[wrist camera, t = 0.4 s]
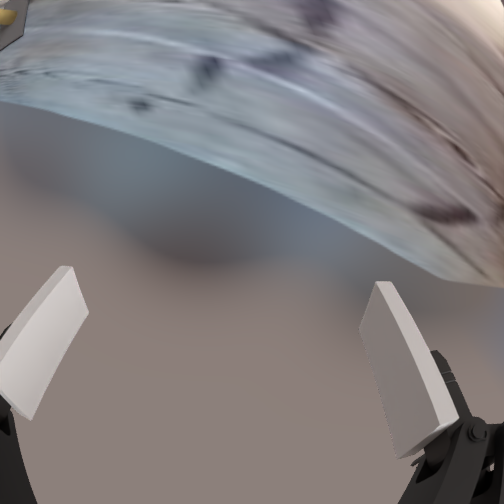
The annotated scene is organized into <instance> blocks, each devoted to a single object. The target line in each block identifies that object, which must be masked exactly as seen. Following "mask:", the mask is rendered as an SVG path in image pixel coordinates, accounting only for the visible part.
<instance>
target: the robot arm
mask: <svg viewBox="0 0 504 504" xmlns="http://www.w3.org/2000/svg"><path fill="white" fill-rule="evenodd" d="M88 314H89V312H88V309H87V306H86V304H85V301H84V299H83V296H82V293H81V291H80V288H79V285H78V282H77V279H76V276H75V273H74V270H73V267H72V266H60V267H59V268H58V269H57V270H56V271H55V272H54V274H53V275H52V276H51V277H50V278H49V279H48V280H47V281H46V283H45V284H44V285H43V286H42V287H41V288H40V290H39V291H38V292H37V293H36V294H35V295H34V297H33V298H32V299H31V300H30V302H29V303H28V304H27V306H26V307H25V308H24V309H23V310H22V312H21V313H20V314H19V316H18V317H17V318H16V319H15V321H14V322H13V323H12V324H10V325H9V326H8V327H7V328H6V329H5V330H4V331H3V333H2V334H1V336H0V504H37V501H36V499H35V496H34V494H33V491H32V488H31V485H30V482H29V479H28V476H27V473H26V470H25V466H24V463H23V459H22V455H21V452H20V447H19V443H18V438H17V433H16V429H15V423H14V417H13V414H12V412H11V411H10V408H11V406H12V407H13V408H14V409H15V410H16V411H17V412H18V413H19V414H20V415H22V416H23V417H25V418H27V419H29V420H31V421H32V418H33V416H34V414H35V412H36V409H37V407H38V405H39V403H40V401H41V399H42V397H43V394H44V392H45V390H46V388H47V386H48V384H49V382H50V380H51V378H52V376H53V375H54V373H55V371H56V369H57V367H58V365H59V363H60V361H61V359H62V358H63V356H64V354H65V352H66V350H67V349H68V347H69V345H70V343H71V342H72V340H73V338H74V337H75V335H76V333H77V332H78V330H79V328H80V327H81V325H82V323H83V322H84V320H85V318H86V317H87V315H88ZM359 332H360V335H361V338H362V341H363V344H364V346H365V350H366V353H367V355H368V359H369V362H370V365H371V368H372V371H373V374H374V377H375V381H376V384H377V387H378V390H379V394H380V397H381V401H382V404H383V408H384V411H385V415H386V418H387V422H388V426H389V430H390V434H391V438H392V441H393V446H394V450H395V454H396V458H397V459H401V458H404V457H408V456H411V455H414V454H416V453H417V452H419V451H420V450H421V449H423V448H424V451H425V454H424V455H422V456H421V457H419V458H418V459H416V460H415V461H414V462H413V463H412V464H411V466H414V465H416V464H417V463H419V464H418V466H417V467H416V471H415V472H414V475H413V476H412V478H411V481H410V482H409V484H408V486H407V488H406V490H405V492H404V494H403V495H402V497H401V499H400V501H399V502H398V504H504V422H503V423H502V424H486V423H485V421H484V420H482V419H481V418H479V417H473V416H472V415H471V413H470V411H469V408H468V406H467V404H466V402H465V399H464V397H463V394H462V392H461V390H460V388H459V385H458V383H457V382H456V381H455V380H456V379H455V377H454V375H453V373H451V369H450V367H449V365H448V363H447V361H446V359H445V358H444V357H443V356H442V355H441V354H440V353H439V352H438V351H437V350H435V351H429V349H428V347H427V345H426V343H425V341H424V339H423V337H422V335H421V333H420V331H419V330H418V328H417V326H416V324H415V322H414V321H413V319H412V317H411V315H410V313H409V311H408V310H407V308H406V306H405V304H404V303H403V301H402V299H401V297H400V296H399V294H398V292H397V291H396V289H395V287H394V286H393V284H392V282H380V281H379V282H377V281H376V282H375V285H374V288H373V291H372V294H371V296H370V299H369V302H368V305H367V308H366V310H365V313H364V316H363V318H362V321H361V324H360V326H359ZM493 463H494V470H492V471H490V465H492V464H493Z"/></svg>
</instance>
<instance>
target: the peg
mask: <svg viewBox="0 0 504 504" xmlns="http://www.w3.org/2000/svg"><path fill="white" fill-rule="evenodd" d="M16 17H17V11H13V10H5V9H0V24H2V25H11V24H12V23H13V22H14V21H15V19H16Z"/></svg>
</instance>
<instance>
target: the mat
mask: <svg viewBox="0 0 504 504" xmlns="http://www.w3.org/2000/svg"><path fill="white" fill-rule="evenodd" d="M28 3H29V0H9V1H8V2H7V3H5V7H4V9H5V10H13V11H17V17H16V19H15V21H14V22H13V23H12V24H11V25H2V24H1V26H0V50H2V49H3V48H5V47H6V46H7V45H9V44H10V43H12V42H13V41H15V40H16V39H18V38H19V37H21V36H22V35H23V32H24V25H25V18H26V13H27V8H28Z"/></svg>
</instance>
